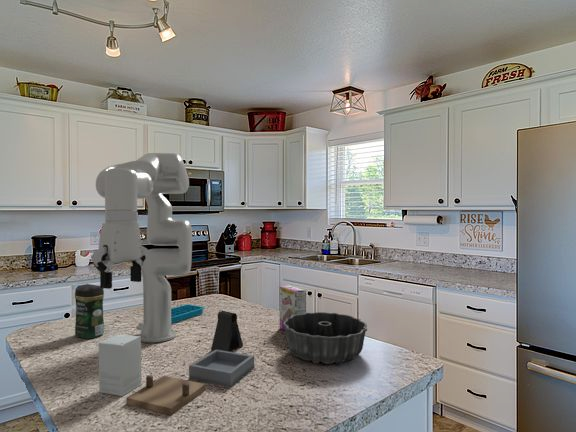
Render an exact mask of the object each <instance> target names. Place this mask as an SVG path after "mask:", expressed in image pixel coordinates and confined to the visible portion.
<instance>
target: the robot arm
mask: <svg viewBox="0 0 576 432" xmlns="http://www.w3.org/2000/svg"><path fill="white" fill-rule="evenodd" d="M189 188H190V178H189V175H188V171H187V168H186V165H185V163H184V160H183V158H182V157H181V156H180V154H177V153H174V152H173V153H171V152H170V153H167V152H165V153H164V152H151V153H150V152H149V153H146V154H144V155H141V157H138V159H136V160H130V161H127V162H123V163H117V164H114V165H110V166H107V167H105V168H104V169H102V170H101V171H99V173H98V175H97V177H96V179H95V190H96V192H97V194H99V196H100V197H102V198H104V222H103V223H102V225H101V228H100V233H99V241H98V250H97V251H94V253H92V255H91V256H90V259H91V260H92V263H93V266H94V267H95V268H96V269H97V272H99V273H100V275H99V277H100V278H99V280H100V281H99V286H100V287H101V288H103V289H107V290H110V289H112V288H113V273H112V272H113V271H111V270H112V268H113V266H114V265H115V264H121V263H126V262H127V263H128V262H129V263H130V264H131V266H130V269H129V270H130V271H129V272H130V274H129V275H130V277H129V278H130V282H136V283H141V282H142V288H143V289H142V298H143V299H142V303H143V305H142V308H143V309H142V310H143V311H142V312H143V313H142V318H143V319H142V320H143V322H139V323H138V325H136V327H135V329H136V330H138V331H140V334H139V335H138V336H140V337H141V343H142V342H143V343H148V344H149V343H152V344H153V343H162V342H166V341H167V342H168V341H170V340H172V339H174V338H175V337H176V335H177V333H176V330H174V329H172V324H171V308H172V287H171V284H170V282H169V281H168V280H167V279H166V276H185V275H188V274H189V273H190V272H191V269H192V259H193V258H192V257H193V256H192V254H193V230H192V228H193V227H192V225H191V223H190V221H188V220H186V219H173V206H172V204H171V203H170V201H169V200H168V199H167V197H165V196H164V194H165V195H180V194H185V193H186V192H188V190H189ZM138 199H140V200H141V199H144V200H145V201H146V205H147V221H146V222H147V223H146V240H147V242H148V243H149V244H150V245H153V246H161V247H162V246H164V247H165V246H177V247H178V248H151V249H148V248H147V247H145V246H143V245H142V239H141V231H140V225H139V222H138V217H139V214H138V213H139V212H138Z"/></svg>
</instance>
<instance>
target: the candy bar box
mask: <svg viewBox="0 0 576 432" xmlns="http://www.w3.org/2000/svg"><path fill="white" fill-rule="evenodd" d="M278 287H279V288H278V289H279V329H280V330H283V331H285V327H284V325H283V323H284V321H286V318H290V317H291V316H293V315H297V314H304V313H307V290H305V289H303V288H300V287H297V286H293V285H280V286H278Z"/></svg>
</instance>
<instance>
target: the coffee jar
mask: <svg viewBox="0 0 576 432" xmlns="http://www.w3.org/2000/svg"><path fill="white" fill-rule="evenodd" d="M104 297H105V290H104V288H101V287H100V285H96V284H89V283H86V284H80V285H77V287H76V288H75V291H74V300H75V328H74V331H75V332H74V335H75V337H78V338H82V339H85V340H89V339H96V338H99V337H101V336H103V334H104V333H105V322H104Z"/></svg>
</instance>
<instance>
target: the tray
mask: <svg viewBox="0 0 576 432" xmlns="http://www.w3.org/2000/svg"><path fill="white" fill-rule="evenodd" d="M253 369H255V355H252V354H245V353H239V352H234V351H232V352H228V351H222V350H214V351H211V352H209V353H207V354H206V355H204V356H202V357H201V358H199V359H197V360H196V361H194V362H193V363H191V364H189V365H188V379H190V380H194V381H200V382H205V383H209V384H210V383H211V384H214V385H220V386H224V387H228V388H229V387H230V388H231V387H232V386H234V385H235V384H237V383H238V382H239V381H240V380H241V379H243V378H244V377H245V376H246V375H248V374H249V373H250V372H251V371H252V370H253Z"/></svg>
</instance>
